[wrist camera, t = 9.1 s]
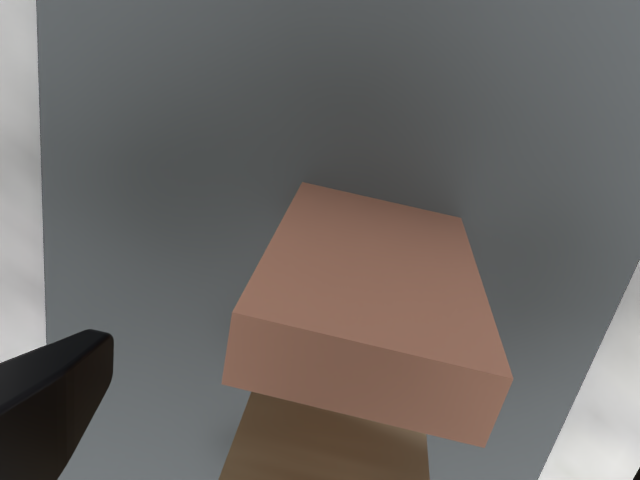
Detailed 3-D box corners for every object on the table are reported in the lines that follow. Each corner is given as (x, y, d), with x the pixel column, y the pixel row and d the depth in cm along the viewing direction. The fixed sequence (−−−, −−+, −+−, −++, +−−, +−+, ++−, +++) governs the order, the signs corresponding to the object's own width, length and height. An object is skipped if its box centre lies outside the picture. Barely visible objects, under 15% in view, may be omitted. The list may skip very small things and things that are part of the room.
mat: (59, 633, 28) (55, 641, 28) (41, -134, 15) (32, -138, 14) (419, 724, 28) (419, 734, 27) (749, 0, 14) (759, 0, 14)
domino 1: (446, 263, 17) (484, 447, 10) (293, 228, 18) (221, 384, 10) (461, 218, 17) (513, 379, 9) (302, 181, 17) (232, 312, 10)
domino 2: (408, 388, 19) (418, 618, 12) (271, 357, 20) (198, 564, 12) (420, 352, 19) (436, 570, 11) (278, 320, 19) (205, 515, 12)
